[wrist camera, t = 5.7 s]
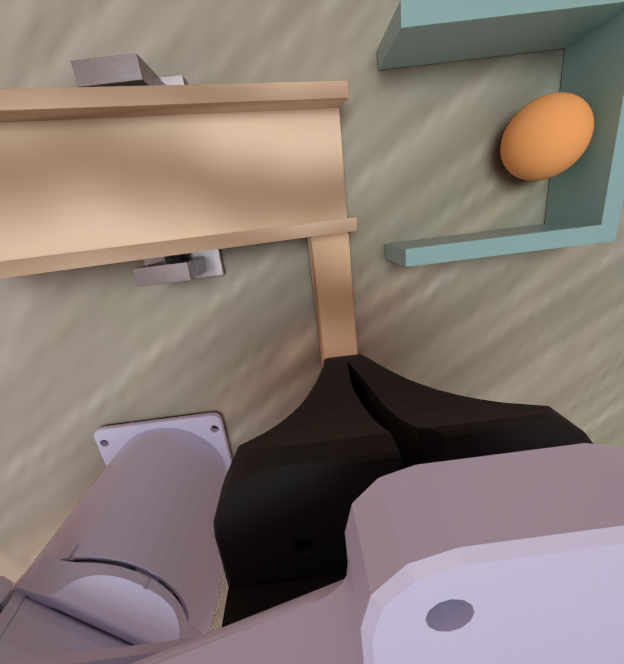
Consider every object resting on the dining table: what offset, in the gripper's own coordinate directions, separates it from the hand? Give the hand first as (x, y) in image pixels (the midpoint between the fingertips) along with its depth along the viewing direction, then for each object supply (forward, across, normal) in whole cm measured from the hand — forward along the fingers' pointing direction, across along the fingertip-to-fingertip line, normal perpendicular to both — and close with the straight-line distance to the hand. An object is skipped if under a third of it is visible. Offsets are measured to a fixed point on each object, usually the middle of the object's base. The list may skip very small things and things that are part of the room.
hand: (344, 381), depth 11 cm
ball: (+6, -11, -8) cm, 15 cm away
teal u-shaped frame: (+8, -8, -8) cm, 14 cm away
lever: (+6, +7, -4) cm, 10 cm away
